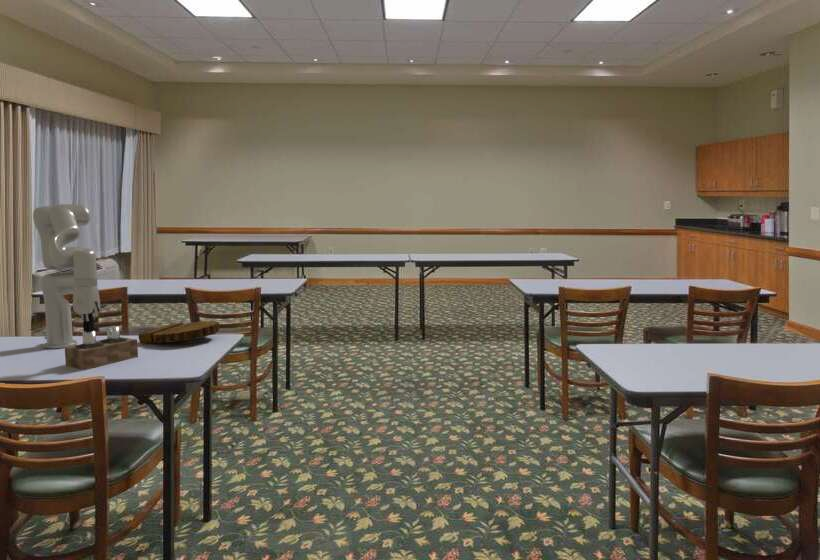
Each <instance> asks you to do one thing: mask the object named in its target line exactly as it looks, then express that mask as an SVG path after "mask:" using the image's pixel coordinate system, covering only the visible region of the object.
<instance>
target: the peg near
mask: <svg viewBox="0 0 820 560" xmlns="http://www.w3.org/2000/svg"><path fill="white" fill-rule="evenodd" d="M96 334H97V332H96V330H94V331H90V332H84V331H82V344H83V346H86V347H89V346H93V345H96V341H97V335H96Z"/></svg>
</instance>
